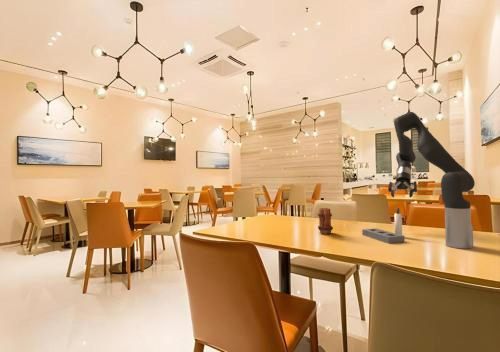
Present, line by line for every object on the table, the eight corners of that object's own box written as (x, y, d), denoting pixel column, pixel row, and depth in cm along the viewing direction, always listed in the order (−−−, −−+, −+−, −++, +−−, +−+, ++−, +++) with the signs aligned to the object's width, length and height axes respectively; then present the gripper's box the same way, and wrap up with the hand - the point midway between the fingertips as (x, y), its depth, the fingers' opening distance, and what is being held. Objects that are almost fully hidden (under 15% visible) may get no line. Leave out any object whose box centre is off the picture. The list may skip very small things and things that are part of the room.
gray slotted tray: (376, 233, 150) (376, 228, 150) (404, 241, 131) (404, 235, 131) (362, 234, 148) (362, 229, 148) (388, 243, 129) (388, 237, 129)
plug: (398, 235, 144) (398, 207, 144) (403, 237, 141) (403, 208, 141) (393, 236, 143) (392, 208, 143) (398, 237, 140) (397, 208, 140)
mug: (317, 231, 160) (316, 206, 160) (331, 231, 159) (330, 206, 159) (320, 237, 146) (319, 209, 146) (335, 237, 144) (335, 209, 145)
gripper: (389, 172, 163) (386, 192, 153) (416, 170, 154) (415, 191, 145) (391, 180, 167) (388, 200, 157) (418, 180, 158) (417, 201, 149)
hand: (401, 196), depth 151 cm, fingers open, 8 cm apart
